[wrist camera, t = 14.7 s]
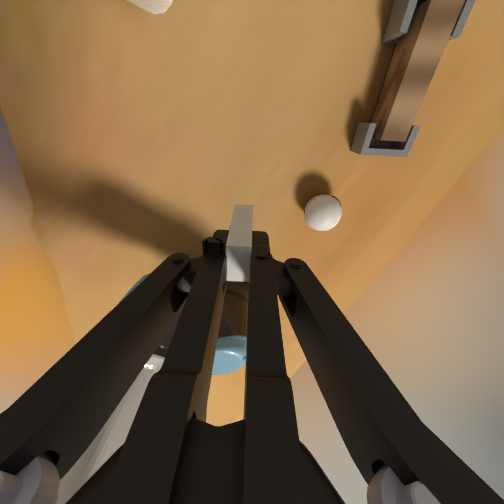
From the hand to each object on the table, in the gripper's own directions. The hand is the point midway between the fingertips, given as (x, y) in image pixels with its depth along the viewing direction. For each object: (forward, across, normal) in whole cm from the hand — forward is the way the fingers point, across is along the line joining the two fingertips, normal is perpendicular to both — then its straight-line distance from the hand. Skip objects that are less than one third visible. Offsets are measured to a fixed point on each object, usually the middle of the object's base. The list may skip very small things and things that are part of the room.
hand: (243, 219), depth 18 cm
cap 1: (+26, -23, -5) cm, 35 cm away
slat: (+26, -23, -13) cm, 37 cm away
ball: (+27, -15, +7) cm, 31 cm away
